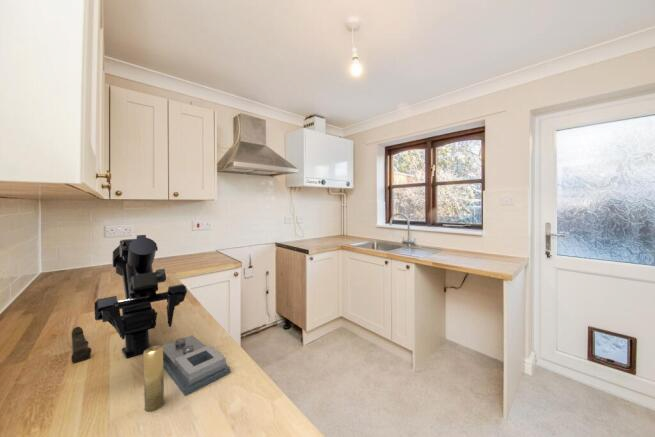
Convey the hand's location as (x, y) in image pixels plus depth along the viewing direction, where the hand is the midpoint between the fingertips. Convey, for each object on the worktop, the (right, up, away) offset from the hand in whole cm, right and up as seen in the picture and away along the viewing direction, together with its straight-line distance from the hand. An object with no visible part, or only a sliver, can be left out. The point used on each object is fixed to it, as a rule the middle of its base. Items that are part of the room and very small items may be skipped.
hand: (148, 332), depth 61 cm
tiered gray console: (+6, -13, +9) cm, 17 cm away
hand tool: (-33, -13, +16) cm, 39 cm away
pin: (+5, -14, -5) cm, 16 cm away
